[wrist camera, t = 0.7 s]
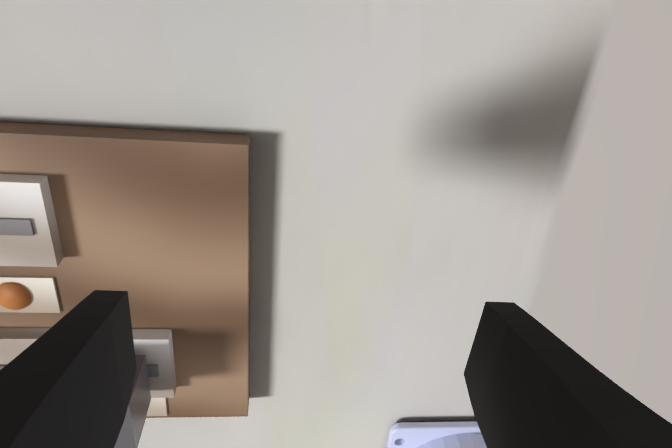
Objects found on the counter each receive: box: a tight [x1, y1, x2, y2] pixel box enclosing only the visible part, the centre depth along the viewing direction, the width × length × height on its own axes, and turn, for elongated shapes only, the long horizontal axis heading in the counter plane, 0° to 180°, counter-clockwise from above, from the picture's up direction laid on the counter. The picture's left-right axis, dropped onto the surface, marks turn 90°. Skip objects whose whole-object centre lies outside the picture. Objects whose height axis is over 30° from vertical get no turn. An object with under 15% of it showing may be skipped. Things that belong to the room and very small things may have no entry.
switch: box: [114, 355, 151, 448], centre depth 19 cm, size 2×2×2 cm
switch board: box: [0, 122, 250, 418], centre depth 19 cm, size 13×18×2 cm
